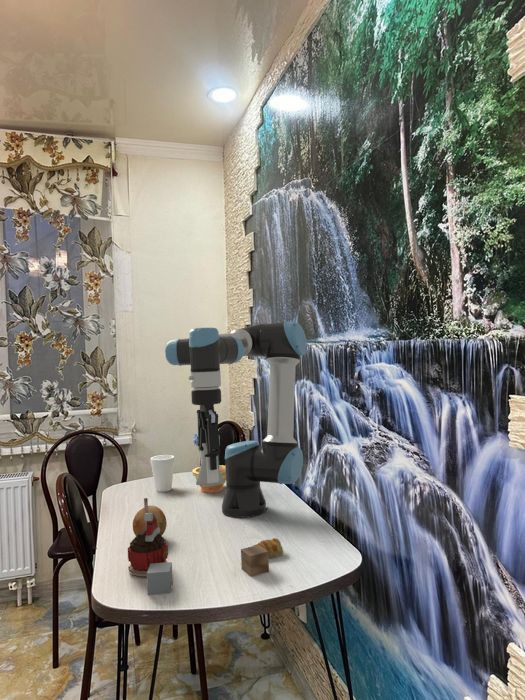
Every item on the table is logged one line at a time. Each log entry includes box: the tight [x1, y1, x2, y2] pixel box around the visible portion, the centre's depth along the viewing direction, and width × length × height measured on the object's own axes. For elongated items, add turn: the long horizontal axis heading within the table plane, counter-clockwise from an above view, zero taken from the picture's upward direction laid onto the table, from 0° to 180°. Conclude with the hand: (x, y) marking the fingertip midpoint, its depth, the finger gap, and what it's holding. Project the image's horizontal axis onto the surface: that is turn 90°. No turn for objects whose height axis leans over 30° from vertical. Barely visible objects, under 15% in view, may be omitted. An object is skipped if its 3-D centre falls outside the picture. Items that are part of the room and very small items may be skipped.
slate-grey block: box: [146, 561, 174, 596], centre depth 110 cm, size 5×5×5 cm
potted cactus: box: [192, 430, 226, 493], centre depth 192 cm, size 15×15×25 cm
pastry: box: [252, 537, 284, 559], centre depth 126 cm, size 9×7×4 cm
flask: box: [195, 443, 223, 486], centre depth 121 cm, size 7×7×10 cm
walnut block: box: [240, 544, 270, 578], centre depth 117 cm, size 5×5×5 cm
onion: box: [132, 505, 168, 537], centre depth 140 cm, size 10×10×10 cm
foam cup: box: [150, 454, 175, 493], centre depth 194 cm, size 10×9×13 cm
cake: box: [127, 497, 169, 577], centre depth 120 cm, size 11×9×18 cm
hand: (209, 478), depth 121 cm, fingers closed on flask, 7 cm apart
